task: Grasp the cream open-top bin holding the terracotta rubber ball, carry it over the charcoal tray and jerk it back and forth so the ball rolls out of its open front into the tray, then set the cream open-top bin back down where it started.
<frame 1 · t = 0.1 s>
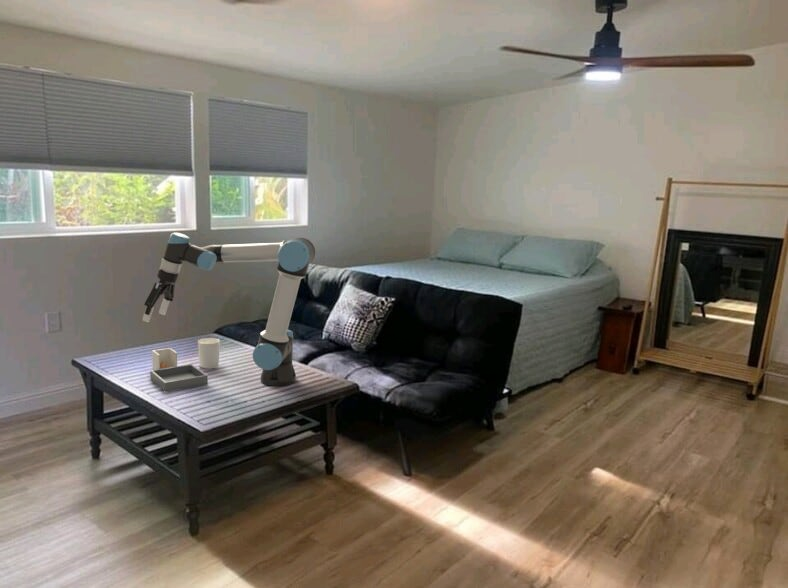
hand: (153, 317, 229), 28 cm above the table, tool tilted 20°, fingers open, 13 cm apart
tray: (179, 381, 237), on the table
candle holder: (209, 366, 259), on the table
ball: (163, 365, 250), point 2 cm above the table, touching cream open-top bin
cream open-top bin: (164, 370, 249), on the table, touching ball
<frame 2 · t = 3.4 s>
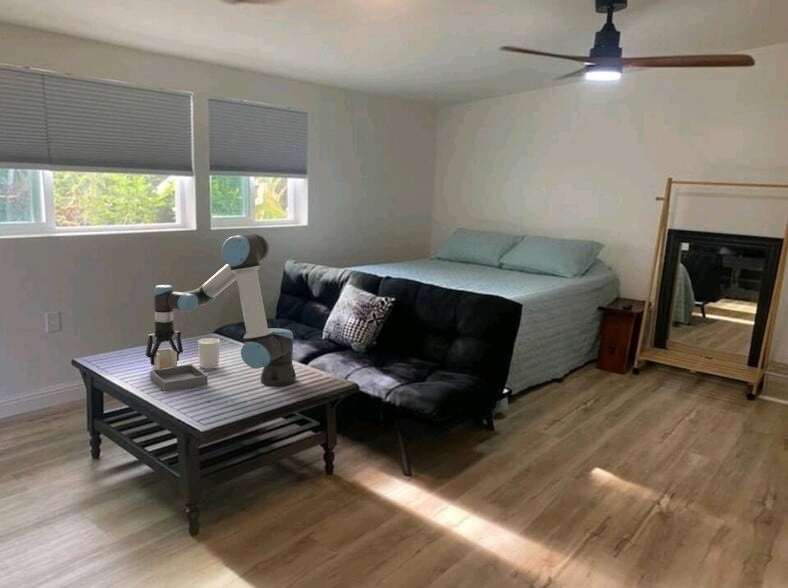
hand: (164, 369, 249), 0 cm above the table, tool pointing down, fingers closed on cream open-top bin, 8 cm apart
ball: (161, 366, 248), point 2 cm above the table, tilted 62°, touching cream open-top bin
cream open-top bin: (164, 370, 249), on the table, touching ball, gripper
everything else where it was.
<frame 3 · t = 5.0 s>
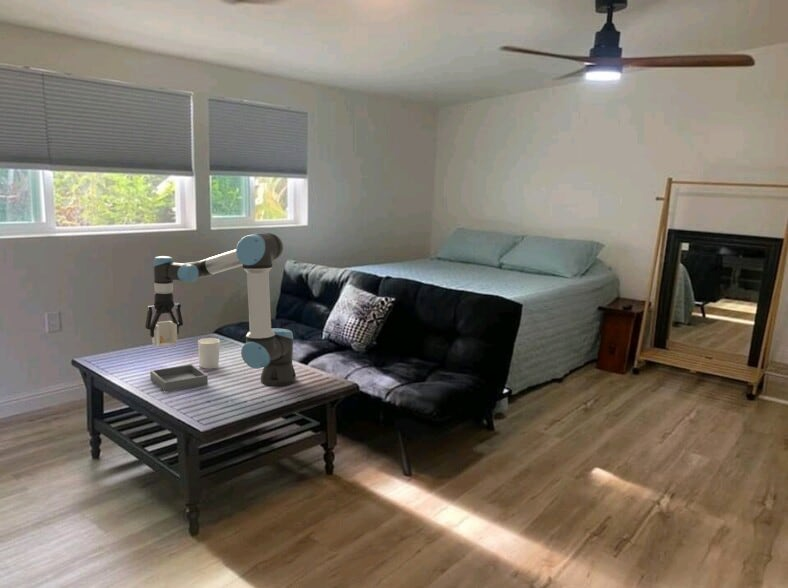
hand: (164, 342, 247), 13 cm above the table, tool pointing down, fingers closed on cream open-top bin, 8 cm apart
ball: (159, 338, 246), point 15 cm above the table, tilted 75°, touching cream open-top bin
cream open-top bin: (164, 343, 247), point 13 cm above the table, touching ball, gripper
everything else where it was.
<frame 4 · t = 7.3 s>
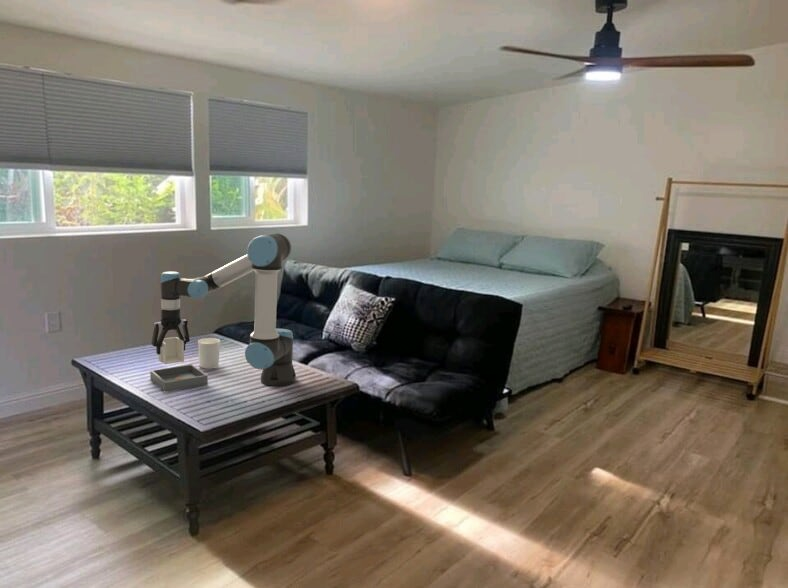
hand: (171, 359, 241), 8 cm above the table, tool pointing down, fingers closed on cream open-top bin, 8 cm apart
ball: (178, 380, 231), point 2 cm above the table, tilted 114°, touching tray
cream open-top bin: (171, 360, 241), point 7 cm above the table, touching gripper
everything else where it was.
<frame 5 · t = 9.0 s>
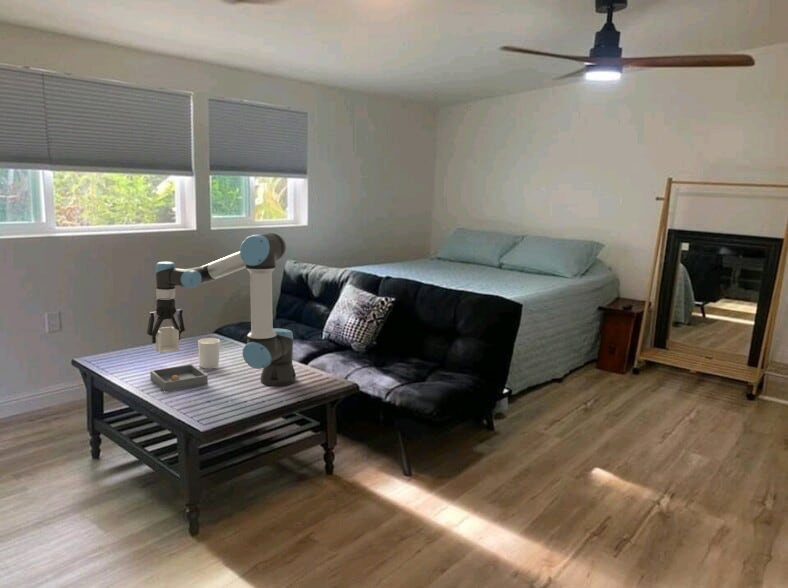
hand: (166, 348, 245), 11 cm above the table, tool pointing down, fingers closed on cream open-top bin, 8 cm apart
ball: (175, 378, 234), point 2 cm above the table, tilted 94°, touching tray
cream open-top bin: (166, 349, 245), point 11 cm above the table, touching gripper
everything else where it was.
when the fingers open (2 cm above the table, at t = 11.5 s): cream open-top bin drops 1 cm, on the table.
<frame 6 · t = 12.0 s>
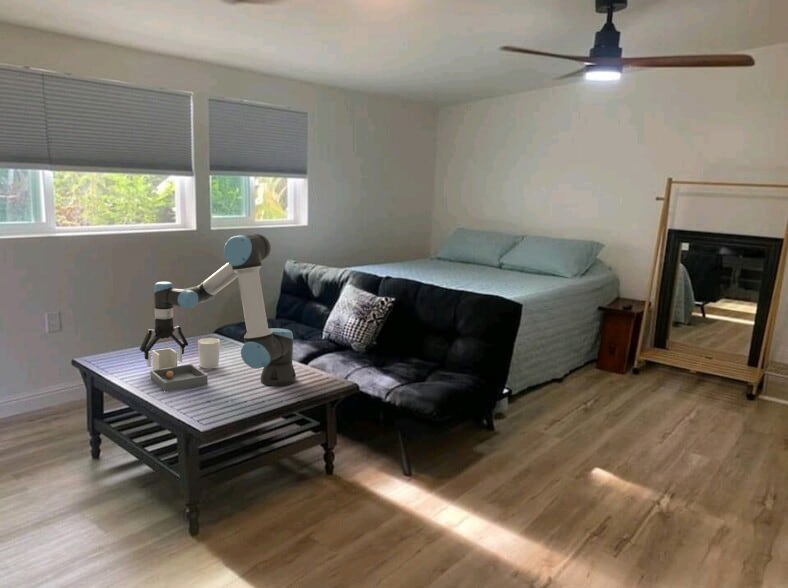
hand: (164, 363, 248), 3 cm above the table, tool pointing down, fingers open, 13 cm apart
ball: (169, 374, 238), point 2 cm above the table, tilted 112°, touching tray
cream open-top bin: (165, 370, 249), on the table
everything else where it was.
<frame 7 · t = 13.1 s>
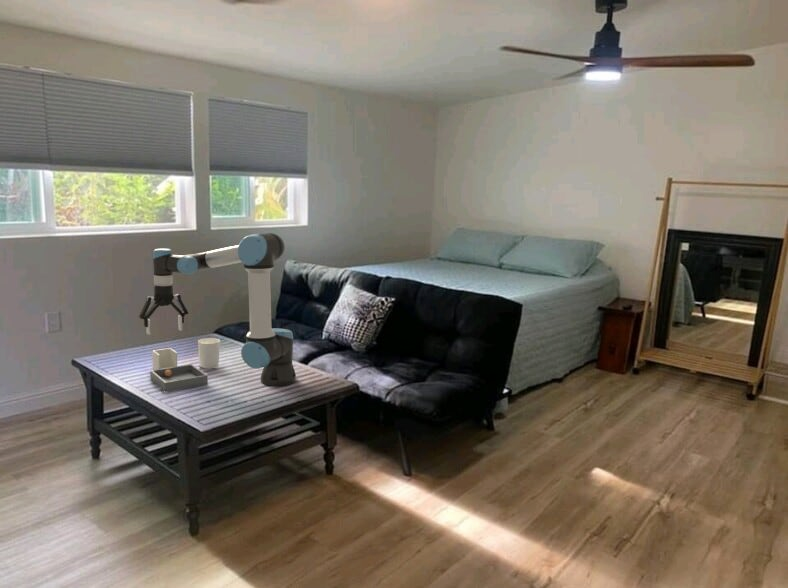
hand: (164, 332, 246), 18 cm above the table, tool pointing down, fingers open, 13 cm apart
ball: (168, 373, 239), point 2 cm above the table, tilted 121°, touching tray
everything else where it was.
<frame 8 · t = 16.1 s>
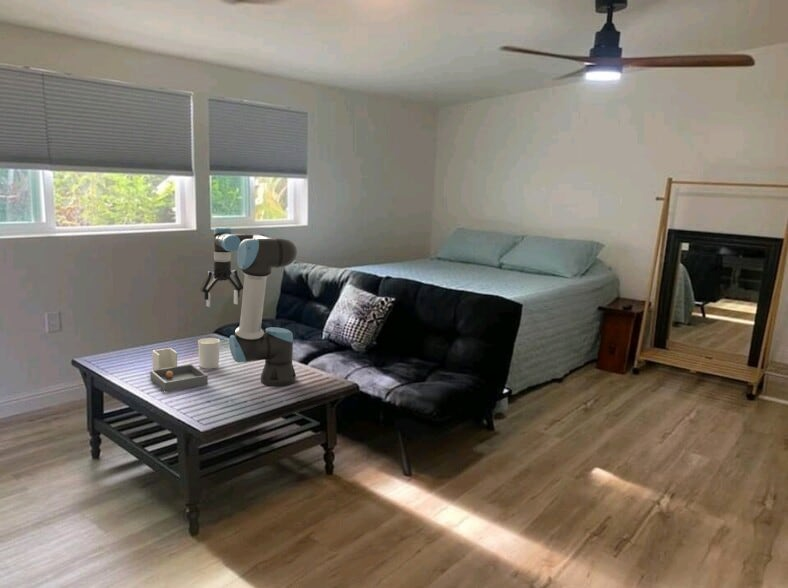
hand: (222, 305, 265), 27 cm above the table, tool pointing down, fingers open, 13 cm apart
ball: (169, 374, 238), point 2 cm above the table, tilted 118°, touching tray
everything else where it was.
at the end: ball inside the target area on the tray (5.2 cm from its centre), point 2.3 cm above the tray's base; cream open-top bin tilted 0°; the gripper is holding nothing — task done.
